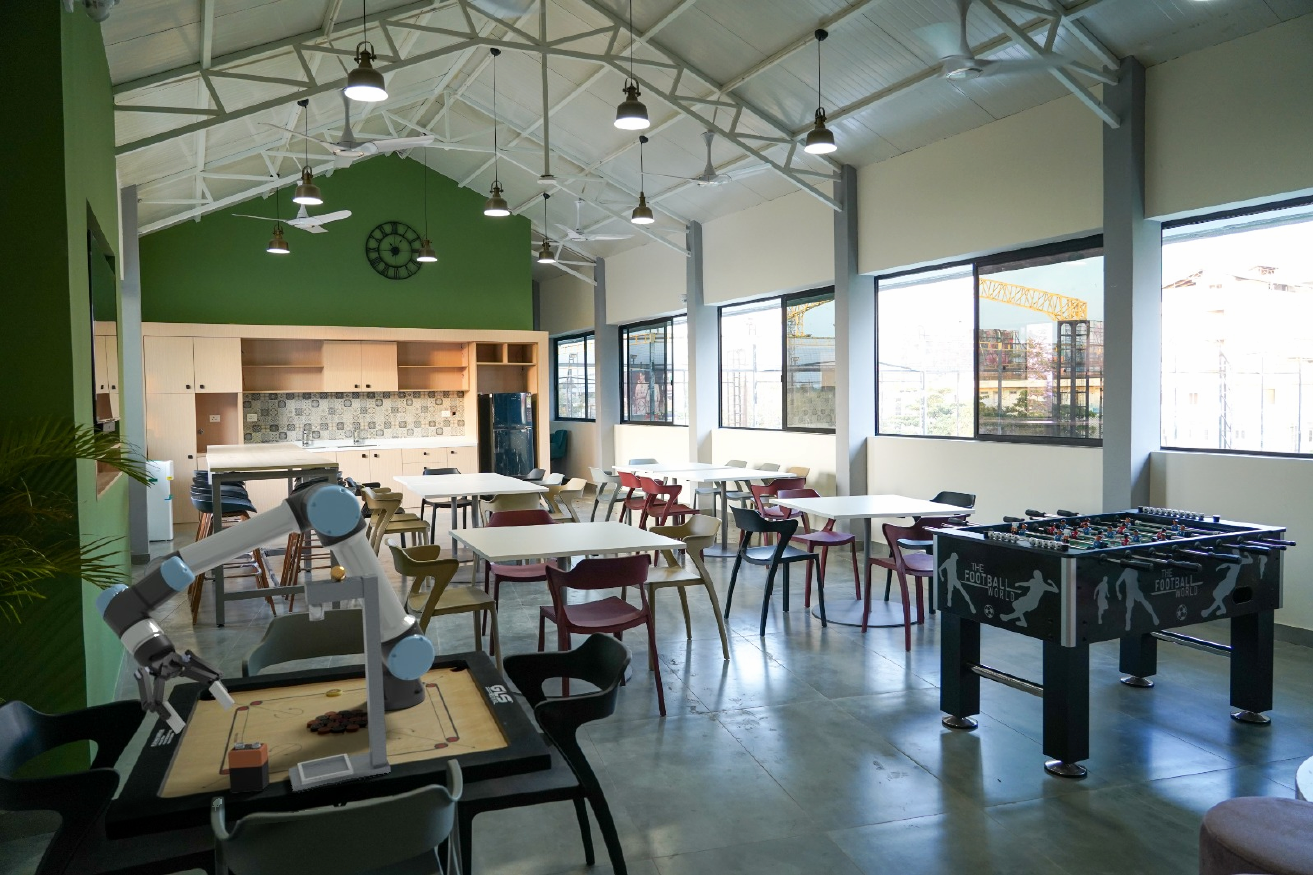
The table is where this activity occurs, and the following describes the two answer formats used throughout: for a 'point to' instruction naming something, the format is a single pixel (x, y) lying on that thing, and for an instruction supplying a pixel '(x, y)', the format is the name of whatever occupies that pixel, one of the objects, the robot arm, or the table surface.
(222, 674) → the robot arm
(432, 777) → the table surface
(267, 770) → the battery
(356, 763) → the arbor press
